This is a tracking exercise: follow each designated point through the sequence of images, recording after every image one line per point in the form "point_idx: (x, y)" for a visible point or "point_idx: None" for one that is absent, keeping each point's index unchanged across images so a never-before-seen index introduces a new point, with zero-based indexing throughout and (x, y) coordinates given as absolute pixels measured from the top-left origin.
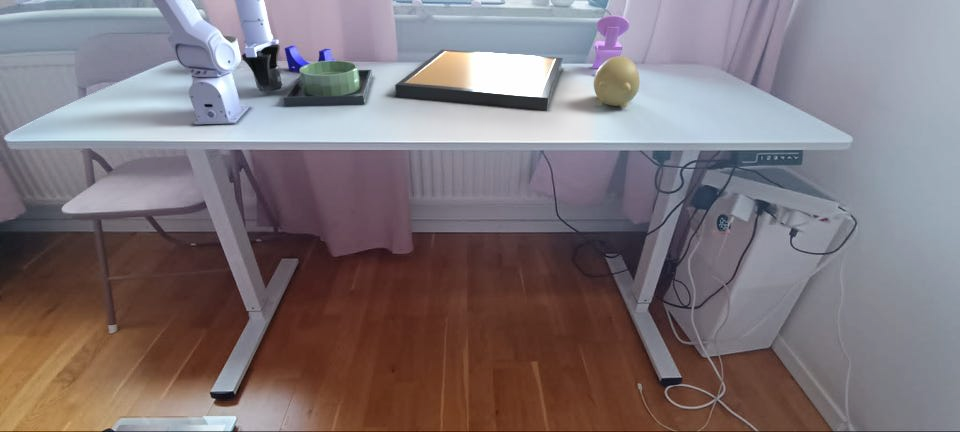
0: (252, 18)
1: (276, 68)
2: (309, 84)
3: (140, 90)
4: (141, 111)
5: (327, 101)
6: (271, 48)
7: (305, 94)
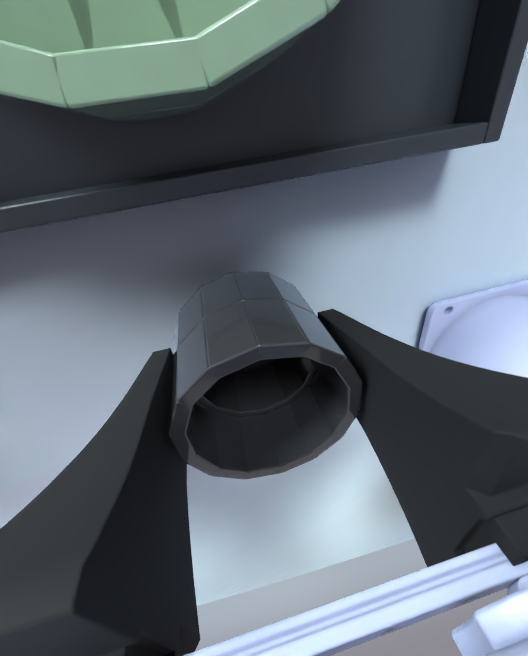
0: None
1: (288, 339)
2: None
3: (248, 568)
4: (382, 494)
5: None
6: (128, 606)
7: (289, 49)
